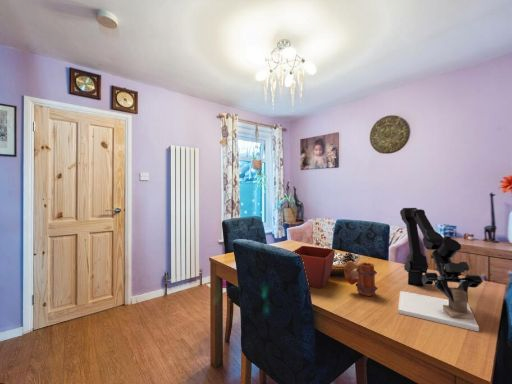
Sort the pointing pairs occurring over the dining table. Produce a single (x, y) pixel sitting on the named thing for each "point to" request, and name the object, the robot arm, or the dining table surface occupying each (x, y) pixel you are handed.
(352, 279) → the mug
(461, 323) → the board
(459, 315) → the brown pedestal block
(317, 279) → the plant pot
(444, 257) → the robot arm
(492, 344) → the dining table surface
